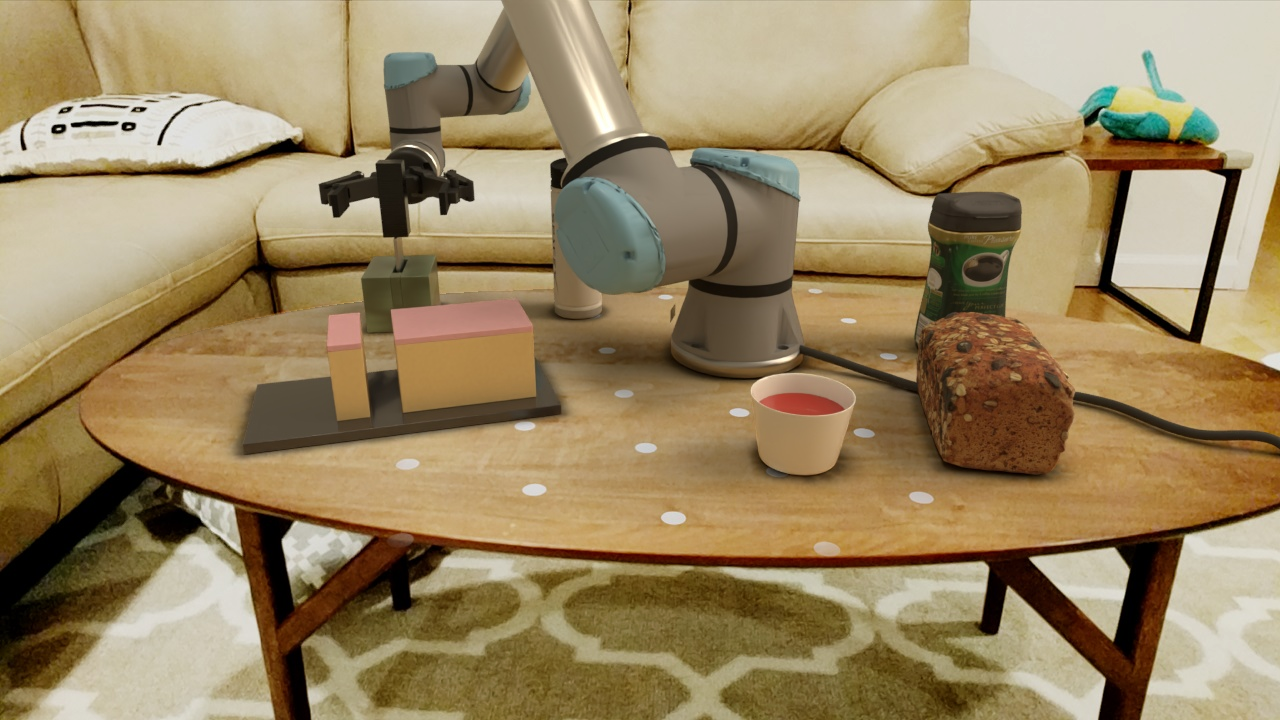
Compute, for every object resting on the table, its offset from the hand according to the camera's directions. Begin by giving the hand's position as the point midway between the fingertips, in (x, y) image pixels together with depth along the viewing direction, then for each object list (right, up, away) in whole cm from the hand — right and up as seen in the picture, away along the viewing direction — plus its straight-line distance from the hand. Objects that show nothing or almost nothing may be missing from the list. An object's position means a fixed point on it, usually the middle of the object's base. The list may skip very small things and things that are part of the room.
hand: (389, 205), depth 102 cm
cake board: (+6, -23, -15) cm, 28 cm away
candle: (+44, -27, -25) cm, 57 cm away
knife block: (-1, -13, +9) cm, 16 cm away
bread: (+62, -25, -19) cm, 70 cm away
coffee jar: (+67, -17, 0) cm, 69 cm away
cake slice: (+1, -22, -16) cm, 28 cm away
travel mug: (+22, -12, +12) cm, 28 cm away
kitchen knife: (-1, -13, +9) cm, 16 cm away
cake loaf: (+12, -21, -13) cm, 28 cm away
